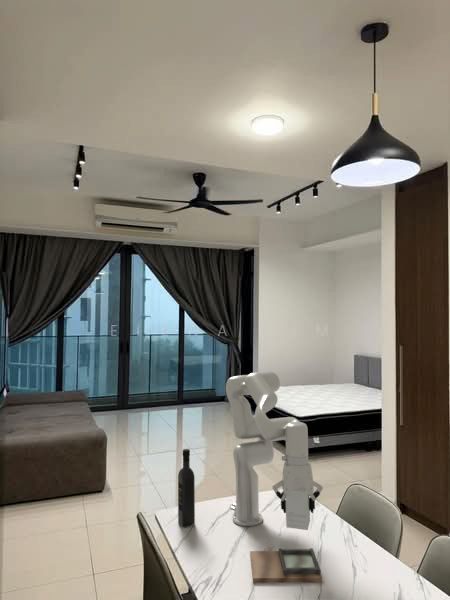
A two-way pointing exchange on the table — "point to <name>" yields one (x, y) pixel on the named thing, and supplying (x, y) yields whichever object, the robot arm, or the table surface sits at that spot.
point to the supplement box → (297, 509)
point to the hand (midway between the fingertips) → (297, 511)
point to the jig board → (285, 566)
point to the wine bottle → (186, 492)
